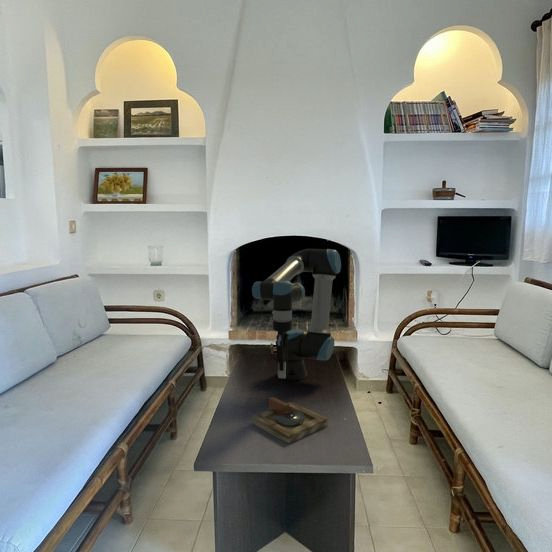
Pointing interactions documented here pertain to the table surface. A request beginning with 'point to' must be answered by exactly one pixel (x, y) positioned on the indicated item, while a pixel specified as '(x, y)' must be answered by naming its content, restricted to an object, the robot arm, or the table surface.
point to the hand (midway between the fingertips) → (282, 377)
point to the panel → (290, 433)
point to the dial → (285, 413)
